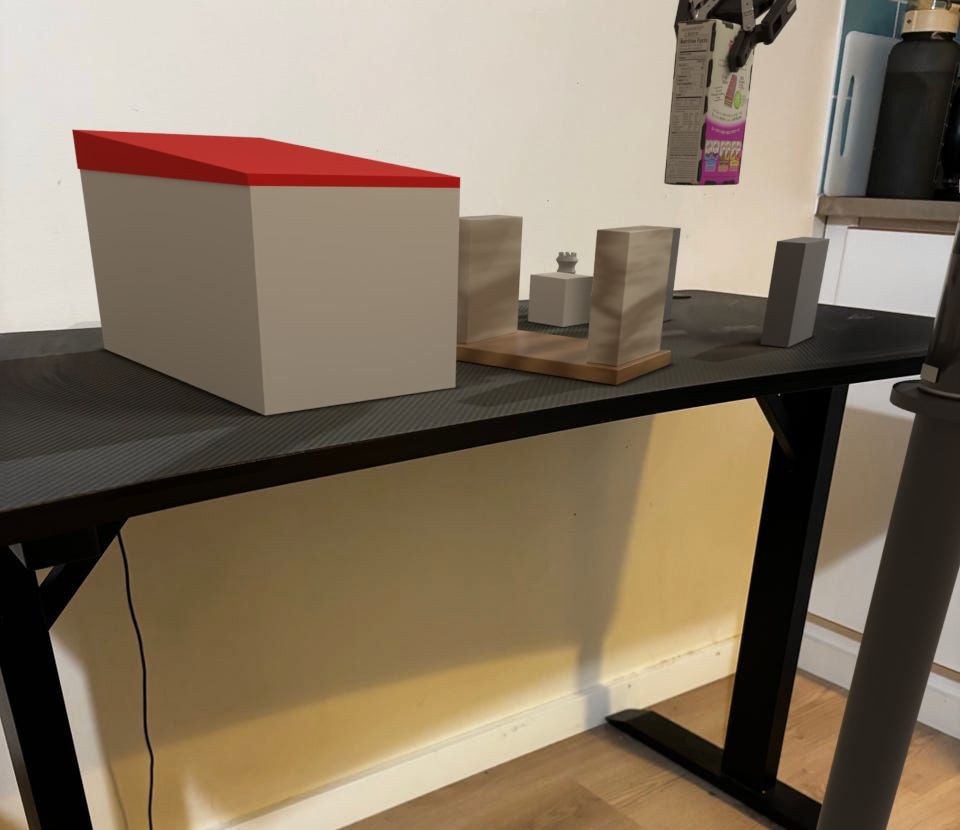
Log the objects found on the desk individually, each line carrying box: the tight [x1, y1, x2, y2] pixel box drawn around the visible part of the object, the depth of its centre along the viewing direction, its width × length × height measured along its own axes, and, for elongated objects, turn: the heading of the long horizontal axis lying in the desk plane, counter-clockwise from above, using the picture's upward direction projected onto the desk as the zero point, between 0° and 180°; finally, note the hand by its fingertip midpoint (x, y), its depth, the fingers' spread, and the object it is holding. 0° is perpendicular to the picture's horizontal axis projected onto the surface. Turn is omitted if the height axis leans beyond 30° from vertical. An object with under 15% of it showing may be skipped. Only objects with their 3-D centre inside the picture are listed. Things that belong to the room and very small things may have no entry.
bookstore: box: [71, 129, 461, 416], centre depth 93 cm, size 21×35×21 cm, turn 41°
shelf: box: [456, 214, 674, 386], centre depth 103 cm, size 23×14×14 cm, turn 58°
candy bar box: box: [663, 19, 756, 187], centre depth 112 cm, size 11×5×16 cm, turn 142°
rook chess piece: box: [555, 251, 579, 274], centre depth 138 cm, size 4×4×8 cm
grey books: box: [658, 225, 830, 349], centre depth 126 cm, size 24×11×12 cm, turn 58°
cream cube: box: [527, 271, 593, 328], centre depth 130 cm, size 6×6×6 cm
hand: (708, 65), depth 109 cm, fingers closed on candy bar box, 5 cm apart
